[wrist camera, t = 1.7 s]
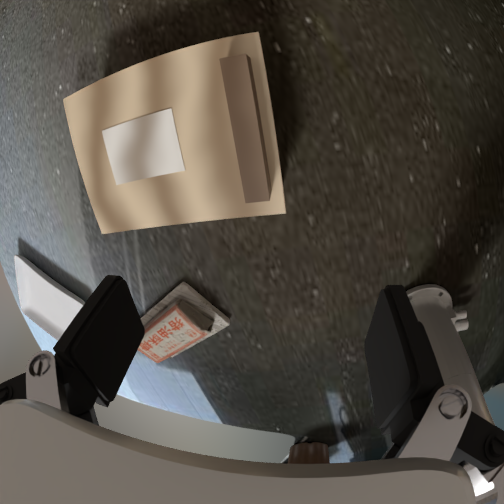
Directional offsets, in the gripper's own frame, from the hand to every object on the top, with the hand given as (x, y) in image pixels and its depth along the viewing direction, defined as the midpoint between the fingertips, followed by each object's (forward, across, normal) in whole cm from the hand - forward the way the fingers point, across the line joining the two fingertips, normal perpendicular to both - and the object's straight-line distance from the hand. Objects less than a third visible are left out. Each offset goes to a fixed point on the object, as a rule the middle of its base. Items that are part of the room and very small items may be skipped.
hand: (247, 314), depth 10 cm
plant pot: (+24, -12, +85) cm, 89 cm away
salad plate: (+24, +48, +27) cm, 60 cm away
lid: (+18, +10, -3) cm, 21 cm away
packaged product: (+24, +17, +27) cm, 40 cm away
